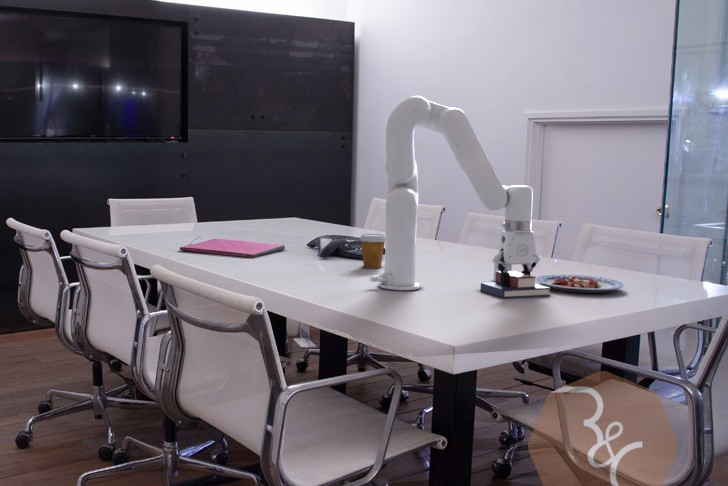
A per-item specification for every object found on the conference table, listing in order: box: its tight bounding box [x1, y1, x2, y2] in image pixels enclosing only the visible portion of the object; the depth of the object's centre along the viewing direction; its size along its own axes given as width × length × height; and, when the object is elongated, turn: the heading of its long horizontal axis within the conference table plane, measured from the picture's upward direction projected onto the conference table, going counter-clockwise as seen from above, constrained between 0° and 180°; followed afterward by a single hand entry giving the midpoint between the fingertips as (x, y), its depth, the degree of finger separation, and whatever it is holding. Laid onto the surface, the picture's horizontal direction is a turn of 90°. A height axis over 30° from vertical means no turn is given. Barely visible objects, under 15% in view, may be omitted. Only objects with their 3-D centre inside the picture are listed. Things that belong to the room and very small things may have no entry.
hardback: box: [480, 281, 551, 299], centre depth 234 cm, size 16×12×2 cm
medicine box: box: [493, 255, 513, 282], centre depth 252 cm, size 8×4×9 cm, turn 168°
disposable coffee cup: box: [359, 233, 386, 269], centre depth 283 cm, size 10×10×12 cm
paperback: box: [494, 270, 537, 289], centre depth 234 cm, size 6×11×4 cm, turn 14°
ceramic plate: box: [535, 274, 625, 294], centre depth 243 cm, size 26×26×3 cm
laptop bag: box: [179, 236, 286, 259], centre depth 327 cm, size 40×4×27 cm
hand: (515, 284), depth 234 cm, fingers closed on paperback, 6 cm apart
